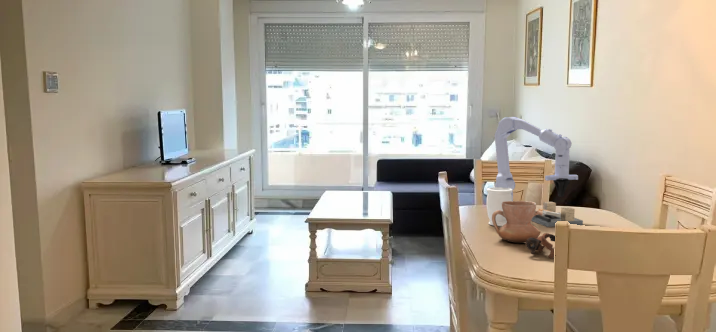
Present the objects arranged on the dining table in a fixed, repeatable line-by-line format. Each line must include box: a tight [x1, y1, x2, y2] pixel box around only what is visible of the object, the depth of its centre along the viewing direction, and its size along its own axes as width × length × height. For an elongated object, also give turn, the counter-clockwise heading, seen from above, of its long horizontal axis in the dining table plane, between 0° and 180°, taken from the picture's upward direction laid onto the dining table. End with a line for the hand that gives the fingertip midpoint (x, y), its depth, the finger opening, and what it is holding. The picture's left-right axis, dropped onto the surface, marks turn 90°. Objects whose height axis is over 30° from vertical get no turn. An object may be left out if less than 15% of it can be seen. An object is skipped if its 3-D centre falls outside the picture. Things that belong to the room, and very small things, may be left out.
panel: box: [531, 201, 584, 228], centre depth 246 cm, size 16×18×7 cm
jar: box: [486, 186, 512, 227], centre depth 241 cm, size 11×10×15 cm
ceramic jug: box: [492, 200, 543, 244], centre depth 212 cm, size 18×14×14 cm
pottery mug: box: [525, 232, 556, 260], centre depth 192 cm, size 12×10×8 cm
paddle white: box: [542, 210, 561, 218], centre depth 246 cm, size 7×3×2 cm, turn 101°
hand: (560, 196), depth 251 cm, fingers closed
